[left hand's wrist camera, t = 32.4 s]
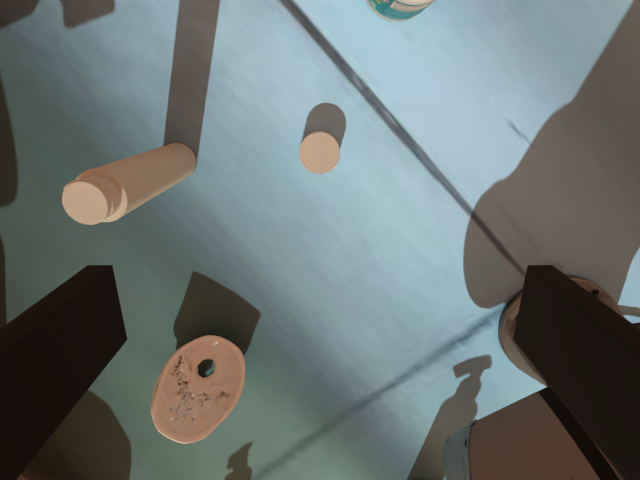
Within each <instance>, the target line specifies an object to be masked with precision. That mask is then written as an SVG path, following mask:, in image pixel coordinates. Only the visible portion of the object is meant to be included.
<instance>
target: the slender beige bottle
mask: <svg viewBox="0 0 640 480" xmlns="http://www.w3.org/2000/svg"><path fill="white" fill-rule="evenodd" d="M195 168H196V157H195V155H194V153H193V151H192V150H191V149H190V148H189V147H188V146H186V145H184V144H181V143H172V144H169V145H166V146H163V147H160V148H156V149H153V150H150V151H147V152H144V153H141V154H138V155H134V156H131V157H128V158H125V159H122V160H119V161H116V162H112V163H109V164H106V165H103V166H100V167H97V168H94V169H90V170H87V171H85V172H83V173H81V174H80V175H79V176H78V177H77V178H76V180H73V181H71V182H70V183H68V184H67V185H66V186H65V187H64V192H63V195H62V202H63V206H64V208H65V210H66V212H67V213H68V215H69V216H70V217H72V218H73V219H74V220H76V221H77V222H80V223H82V224H87V225H93V224H97V223H99V222H111V221H115V220H117V219H119V218H120V217H122V216H124V215H125V214H127V213H129V212H130V211H132V210H133V209H135V208H137V207H138V206H140V205H142V204H143V203H145V202H147V201H148V200H150V199H152V198H153V197H155V196H157V195H158V194H160V193H162V192H163V191H165V190H166V189H168V188H170V187H171V186H173V185H175V184H176V183H178V182H180V181H181V180H183V179H185V178H186V177H188V176H190V175H191V174H192V173H193V172H194V170H195Z"/></svg>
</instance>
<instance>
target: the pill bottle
mask: <svg viewBox="0 0 640 480" xmlns="http://www.w3.org/2000/svg"><path fill="white" fill-rule="evenodd" d="M366 1H367V3H368V5H369V7H370V8H371V10H372V11H373V12H374V13H375V14H376V15H378V16H379V17H381V18H382V19H385V20H387V21H392V22H401V21H406V20H409V19H411V18H413V17H414V16H416V15H417V14H419V13H420V12H422V11H423V10H424V9H425V8H427V7H428V6H429V5H430V4H431V3H433V2H434V1H435V0H366Z"/></svg>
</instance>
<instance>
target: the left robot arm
mask: <svg viewBox="0 0 640 480" xmlns="http://www.w3.org/2000/svg"><path fill="white" fill-rule="evenodd" d="M498 337H499V342H500V345H501V348H502V349H503V351H504V353H505V354H506V355H507V357H508V358H509V360H510V361H511V362H512V363H513V364H514V365H515V366H516V367H517V368H518V369H520V370H521V371H523V372H524V373H526V374H527V375H529V376H530V377H532V378H534V379H535V380H537V381H538V382H540V383H542V384H543V385H545V386H546V388H544V389H542V390H540V391H538V392H535V393H533V394H531V395H529V396H527V397H525V398H523V399H521V400H519V401H517V402H515V403H513V404H510V405H508V406H506V407H504V408H502V409H500V410H498V411H496V412H494V413H492V414H490V415H488V416H486V417H483V418H481V419H479V420H474V421H472V422H470V423H469V425H468V426H467V427H465V428H463V429H461V430H460V431H458V432H456V433H454V434H452V435H451V436H450V437H449V438H448V439H447V440H446V443H445V446H444V450H443V464H444V470H445V476H446V480H640V323H633V324H632V323H631V322H629V321H628V320H626V319H625V318H624V316H623V314H622V313H621V311H620V309H619V308H618V306H617V305H616V303H615V301H614V300H613V299H612V298H611V297H610V296H609V295H608V294H607V293H606V292H605V291H604V290H603V289H602V288H600V287H599V286H597V285H596V284H595V283H593V282H591V281H589V280H587V279H585V278H582V277H577V276H570V275H565V274H563V273H562V272H561V271H559V270H558V269H556V268H555V267H554V266H552V265H528V267H527V272H526V277H525V282H524V287H523V290H522V291H521V292H519V293H518V294H517V295H516V296H515V297H514V298H513V299H512V300H511V301H510V302H509V304H508V305H507V307H506V308H505V310H504V312H503V314H502V316H501V319H500V322H499V328H498ZM126 340H127V336H126V331H125V326H124V321H123V316H122V311H121V306H120V301H119V297H118V292H117V287H116V282H115V277H114V272H113V267H112V265H88V266H86V267H85V268H84V269H82V270H81V271H79V272H78V273H77V274H75V275H74V276H73V277H71V278H70V279H68V280H67V281H66V282H64V283H63V284H62V285H60V286H59V287H57V288H56V289H55V290H53V291H52V292H51V293H49V294H48V295H46V296H45V297H44V298H42V299H41V300H40V301H38V302H37V303H36V304H34V305H33V306H31V307H30V308H29V309H27V310H26V311H25V312H23V313H22V314H20V315H19V316H18V317H16V318H15V319H14V320H12V321H11V322H9V323H8V324H7V325H5V326H4V327H3V328H1V329H0V480H16V479H17V478H18V477H19V475H20V474H21V473H22V472H23V470H24V469H25V468H26V466H27V465H28V464H29V463H30V461H31V460H32V459H33V458H34V456H35V455H36V454H37V453H38V451H39V450H40V449H41V448H42V446H43V445H44V444H45V443H46V441H47V440H48V439H49V437H50V436H51V435H52V434H53V432H54V431H55V430H56V429H57V427H58V426H59V425H60V424H61V422H62V421H63V420H64V419H65V417H66V416H67V415H68V414H69V412H70V411H71V410H72V408H73V407H74V406H75V405H76V403H77V402H78V401H79V400H80V398H81V397H82V396H83V395H84V393H85V392H86V391H87V390H88V388H89V387H90V386H91V385H92V383H93V382H94V381H95V379H96V378H97V377H98V376H99V374H100V373H101V372H102V371H103V369H104V368H105V367H106V366H107V364H108V363H109V362H110V361H111V359H112V358H113V357H114V356H115V354H116V353H117V352H118V350H119V349H120V348H121V347H122V345H123V344H124V343H125V342H126Z"/></svg>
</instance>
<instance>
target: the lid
mask: <svg viewBox="0 0 640 480" xmlns="http://www.w3.org/2000/svg"><path fill="white" fill-rule="evenodd" d="M299 157H300V160H301V162H302V164H303V166H304V167H305V168H306V169H307V170H309V171H311V172H313V173H318V174H321V173H326V172H329V171H330V170H332V169H333V168H334V167H335V166H336V164H337V163H338V161H339V158H340V148H339V145H338V142H337V140H336V139H335V137H334V136H333V135H331V134H330V133H328V132H326V131H322V130H318V131H313V132H311V133H309V134H308V135H307V136H306V137H305V138H304V139H303V141H302V143H301V145H300V149H299Z"/></svg>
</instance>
